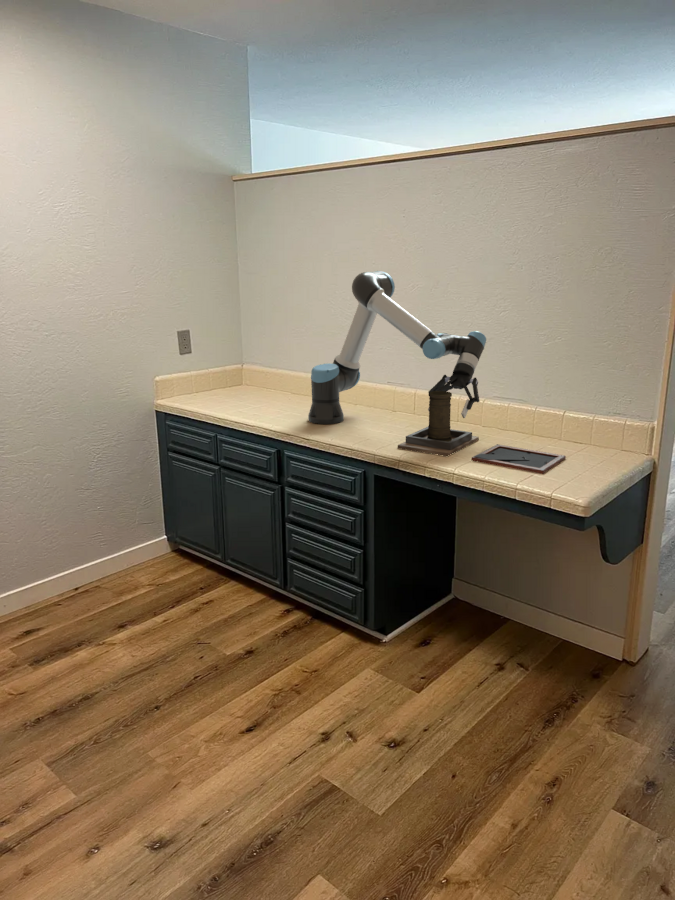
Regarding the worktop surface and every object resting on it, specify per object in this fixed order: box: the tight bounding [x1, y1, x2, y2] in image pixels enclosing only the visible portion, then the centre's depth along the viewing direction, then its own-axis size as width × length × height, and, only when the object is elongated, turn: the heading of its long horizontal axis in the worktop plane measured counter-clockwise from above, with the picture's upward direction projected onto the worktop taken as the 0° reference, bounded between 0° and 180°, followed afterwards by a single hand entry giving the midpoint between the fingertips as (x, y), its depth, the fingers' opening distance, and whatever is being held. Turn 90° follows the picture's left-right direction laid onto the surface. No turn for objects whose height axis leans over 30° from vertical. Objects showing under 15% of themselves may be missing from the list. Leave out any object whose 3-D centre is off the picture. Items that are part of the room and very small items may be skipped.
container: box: [427, 391, 453, 442], centre depth 247 cm, size 9×9×18 cm
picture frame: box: [471, 444, 567, 474], centre depth 229 cm, size 20×2×25 cm
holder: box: [397, 426, 480, 457], centre depth 249 cm, size 26×20×4 cm
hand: (446, 413), depth 250 cm, fingers open, 13 cm apart
